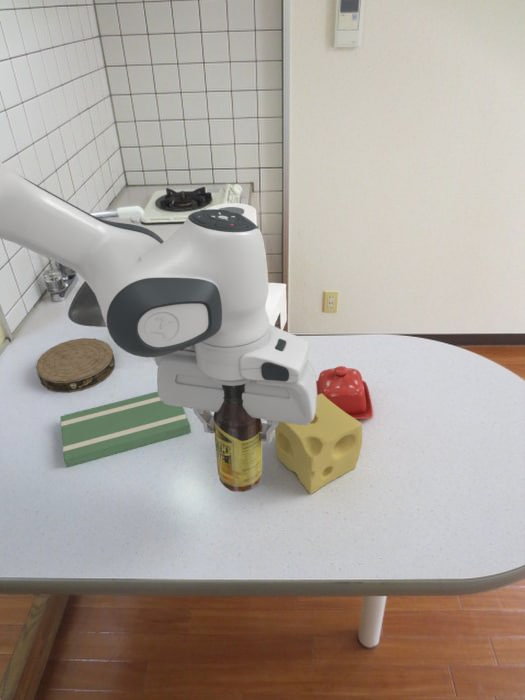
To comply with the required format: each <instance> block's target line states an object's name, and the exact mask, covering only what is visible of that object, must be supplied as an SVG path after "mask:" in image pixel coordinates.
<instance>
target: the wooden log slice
mask: <svg viewBox="0 0 525 700" xmlns="http://www.w3.org/2000/svg"><path fill="white" fill-rule="evenodd" d="M115 368H116V360H115V355H114V351H113V348H112V347H111V345H110V344H109V343H108V342H106V341H104V340H102V339H97V338H93V337H92V338H91V337H90V338H87V337H83V338H82V337H81V338H76V339H70V340H67V341H64V342H60V343H58V344H56V345H54V346H52V347H49V348H48V349H47V350H46V351H45V352H43V353H42V354H41V355H40V356H39V358H38V359H37V360H36V364H35V370H36V373H37V375H38V379H39V381H40V384H41V385H42V387H44V388H45V389H47V390H48V391H52V392H55V393H68V394H69V393H75V392H83V391H84V390H87V389H90V388H93V387H96V386H97V385H99V384H100V383H102V382H104V381H105V380H106V379H107V378H109V376H111V374H112V373H113V371H114V370H115Z"/></svg>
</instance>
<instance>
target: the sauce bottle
mask: <svg viewBox="0 0 525 700" xmlns="http://www.w3.org/2000/svg"><path fill="white" fill-rule="evenodd" d="M222 389H223V390H224V397H223V399H224V402H223V404H222V405H221V407H220V409H219V411H218V412H213V419H214V433H215V434H214V433H213V434H214V442H215V455H216V466H217V474H218V478H219V481H220V483H221V485H223V487H224V488H225V489H227V490H228V491H230V492H234V493H236V492H237V493H241V492H242V493H243V492H248V491H250V490H252V489H254V488H255V487H256V486H257V485H258V484H259V483H260V481H261V479H262V478H261V476H262V472H263V441H260V440H259V438H260V436H259V431H260V430H261V428H262V423H263V422H262V419H258V418H252V417H251V416H250V415H249V414H248V413H247V412H246V410H245V409H244V407H243V400H242V393H244V392H245V384H243V385H237V386H227V385H222Z"/></svg>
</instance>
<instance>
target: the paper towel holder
mask: <svg viewBox="0 0 525 700" xmlns="http://www.w3.org/2000/svg"><path fill="white" fill-rule="evenodd" d="M207 209H217V210H226V211H230V212H234V213H238V214H241V215H243V216H244V217H246V218H248V219H249V220H250V221H252V222H253V223H254V224H255V225H256V226H257V227H258V216H257V209H256V208H255V207H254V206H252V205H250V204H247V203H239V202H229V203H219V204H215V205H212V206H209V207H207V208H205V209H204V210H207ZM287 305H288V303H287V283H282V282H269V281H268V297H267V300H266V304H265V309H266V313H267V315H268V318H269V324H271V325H273V326H275V327H276V322H277V321H280V329H281V330H283V331H284V328H285V327H286V325H287V321H288V313H287V312H288V311H287V310H288V309H287V307H288V306H287Z"/></svg>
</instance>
